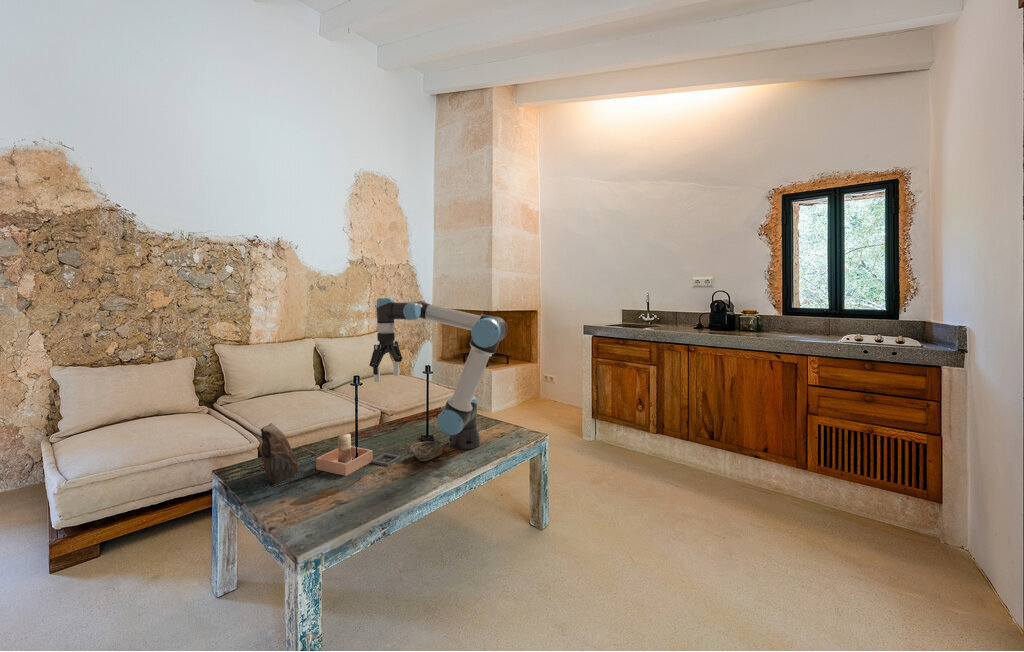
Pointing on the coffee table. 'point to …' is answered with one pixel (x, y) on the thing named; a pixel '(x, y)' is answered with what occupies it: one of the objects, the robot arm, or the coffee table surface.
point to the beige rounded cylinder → (344, 448)
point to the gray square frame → (385, 462)
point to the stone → (426, 450)
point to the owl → (277, 455)
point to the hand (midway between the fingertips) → (387, 378)
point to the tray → (332, 465)
